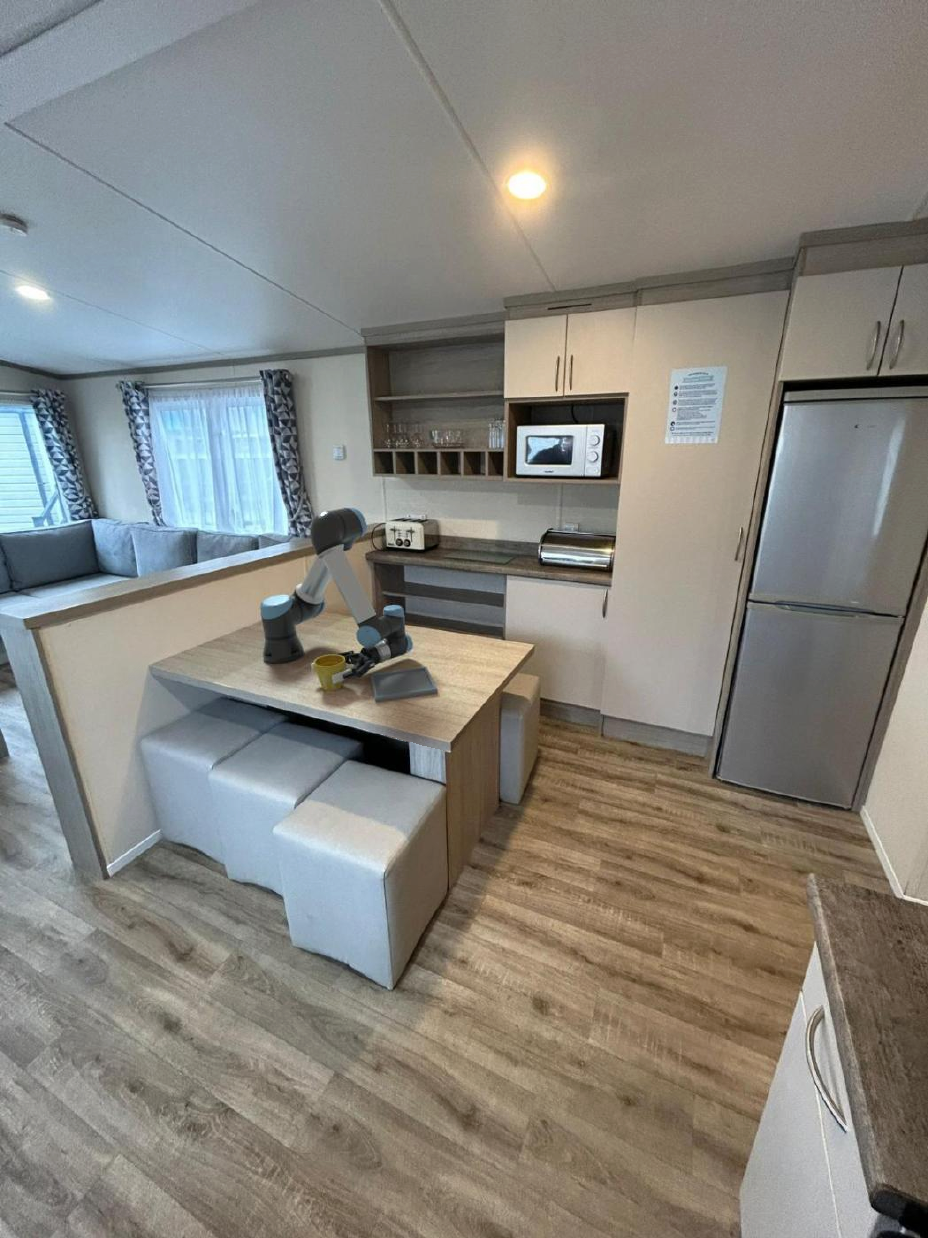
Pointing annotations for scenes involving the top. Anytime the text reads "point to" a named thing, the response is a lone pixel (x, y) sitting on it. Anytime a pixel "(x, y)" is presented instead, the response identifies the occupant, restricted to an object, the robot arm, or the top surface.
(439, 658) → the top surface
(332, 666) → the plant pot
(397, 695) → the charcoal tray
